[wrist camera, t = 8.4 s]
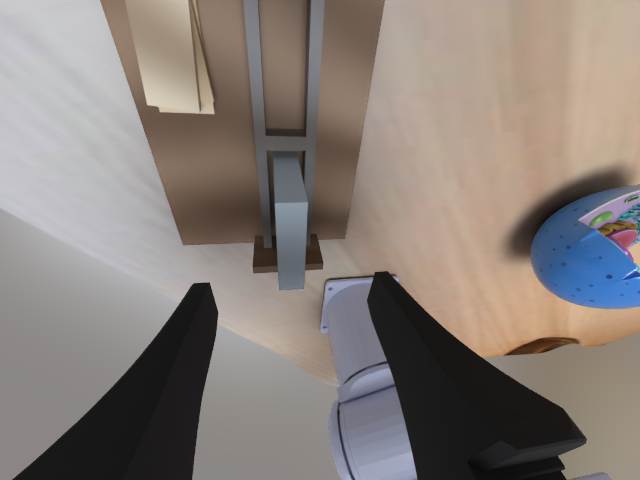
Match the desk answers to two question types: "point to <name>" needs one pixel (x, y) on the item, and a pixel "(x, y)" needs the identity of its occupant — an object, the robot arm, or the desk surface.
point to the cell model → (592, 250)
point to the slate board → (290, 219)
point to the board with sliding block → (264, 118)
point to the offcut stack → (172, 55)
